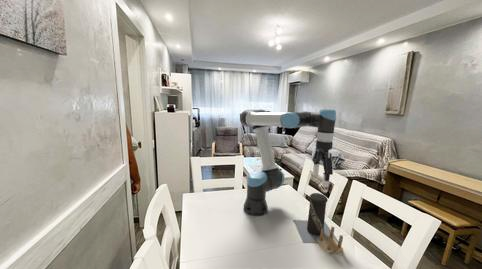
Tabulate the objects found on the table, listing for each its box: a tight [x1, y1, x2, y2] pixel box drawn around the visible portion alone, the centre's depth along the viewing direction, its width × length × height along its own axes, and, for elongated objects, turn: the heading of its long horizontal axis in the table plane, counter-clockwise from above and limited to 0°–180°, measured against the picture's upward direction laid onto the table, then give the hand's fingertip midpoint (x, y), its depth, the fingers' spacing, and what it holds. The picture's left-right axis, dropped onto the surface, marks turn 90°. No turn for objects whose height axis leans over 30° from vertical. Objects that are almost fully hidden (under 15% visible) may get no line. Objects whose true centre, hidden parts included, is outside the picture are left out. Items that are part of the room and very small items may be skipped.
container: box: [307, 192, 329, 236], centre depth 101 cm, size 9×9×20 cm
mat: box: [292, 219, 339, 244], centre depth 103 cm, size 18×18×1 cm
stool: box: [317, 226, 344, 255], centre depth 92 cm, size 8×8×8 cm
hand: (319, 180), depth 100 cm, fingers open, 13 cm apart
